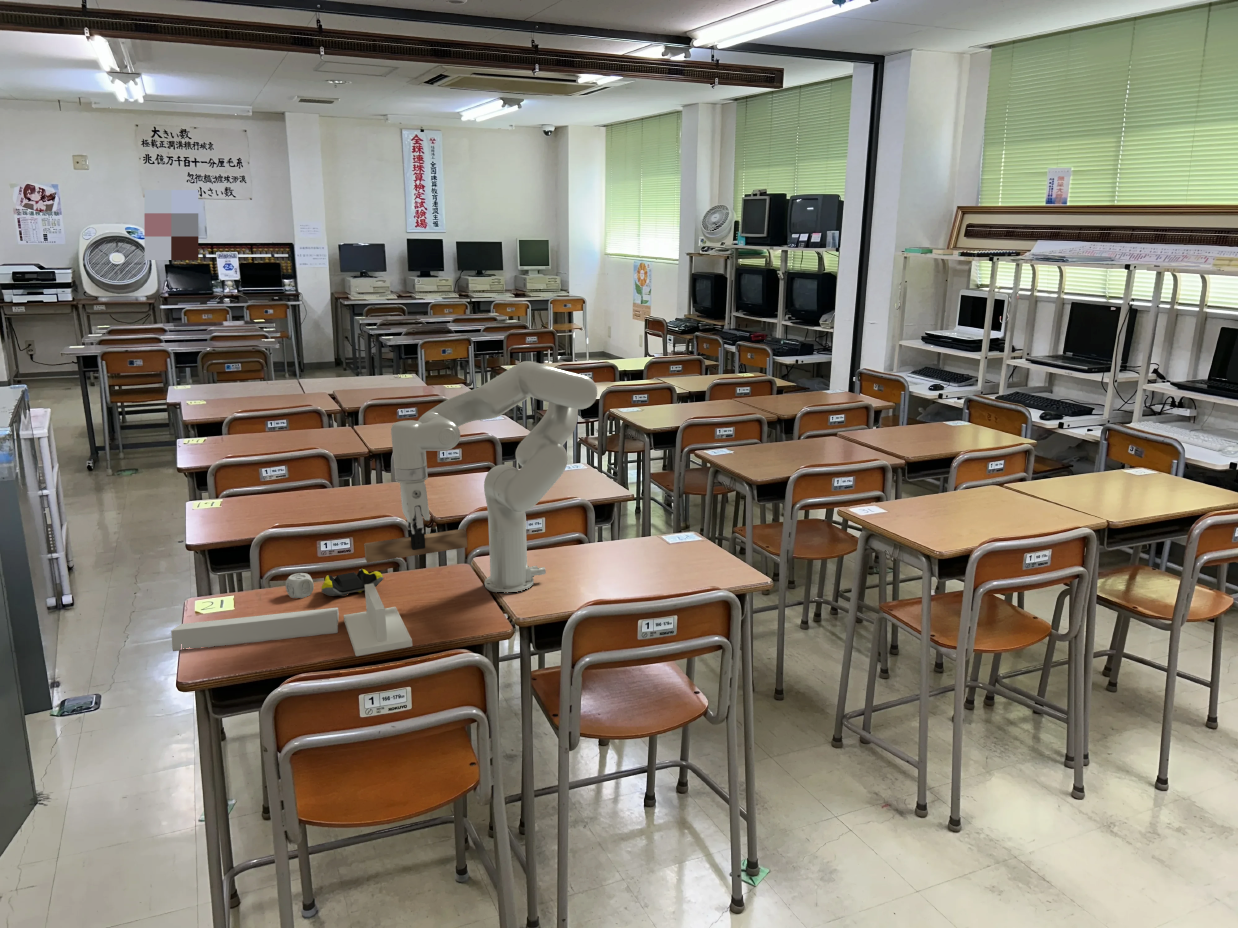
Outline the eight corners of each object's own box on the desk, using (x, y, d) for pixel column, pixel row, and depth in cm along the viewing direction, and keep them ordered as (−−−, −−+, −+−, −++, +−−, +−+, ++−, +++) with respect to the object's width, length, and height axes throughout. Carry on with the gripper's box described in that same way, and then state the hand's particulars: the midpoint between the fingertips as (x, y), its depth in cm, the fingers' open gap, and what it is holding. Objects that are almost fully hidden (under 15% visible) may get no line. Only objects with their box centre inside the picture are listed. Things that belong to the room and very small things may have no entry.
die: (304, 589, 225) (302, 571, 224) (314, 594, 222) (313, 576, 221) (286, 595, 222) (284, 576, 220) (296, 600, 218) (294, 581, 217)
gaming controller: (386, 593, 223) (374, 580, 231) (384, 572, 222) (373, 560, 230) (325, 605, 216) (315, 592, 224) (323, 584, 214) (314, 571, 223)
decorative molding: (182, 644, 200) (172, 652, 191) (181, 623, 200) (171, 630, 191) (339, 627, 209) (337, 634, 200) (338, 607, 209) (336, 612, 200)
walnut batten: (464, 543, 219) (463, 528, 218) (467, 547, 216) (466, 531, 215) (365, 559, 209) (364, 543, 208) (367, 562, 207) (365, 546, 206)
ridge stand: (396, 612, 211) (393, 577, 209) (412, 646, 193) (410, 607, 191) (344, 620, 206) (341, 584, 204) (355, 656, 188) (352, 617, 186)
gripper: (434, 479, 202) (440, 554, 207) (420, 463, 217) (425, 534, 221) (401, 483, 199) (407, 559, 204) (389, 467, 214) (395, 539, 218)
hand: (417, 546), depth 213 cm, fingers closed on walnut batten, 2 cm apart
